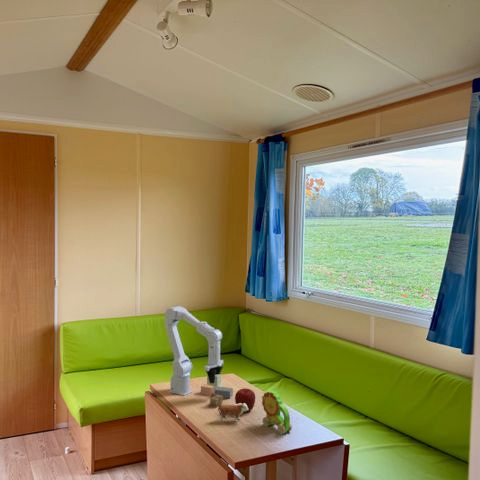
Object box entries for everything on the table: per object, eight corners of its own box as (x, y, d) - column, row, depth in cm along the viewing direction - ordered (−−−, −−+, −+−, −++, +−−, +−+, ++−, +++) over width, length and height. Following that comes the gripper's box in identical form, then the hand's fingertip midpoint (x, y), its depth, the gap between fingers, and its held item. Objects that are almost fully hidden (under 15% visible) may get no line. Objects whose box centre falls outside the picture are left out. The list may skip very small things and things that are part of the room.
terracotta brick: (200, 393, 253) (200, 386, 252) (204, 391, 256) (204, 384, 255) (210, 396, 250) (210, 388, 250) (214, 394, 253) (214, 386, 253)
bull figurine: (248, 423, 217) (248, 404, 216) (217, 422, 217) (218, 404, 217) (248, 419, 221) (248, 401, 221) (218, 418, 221) (218, 400, 221)
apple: (235, 414, 226) (236, 393, 225) (234, 406, 235) (234, 386, 235) (256, 414, 227) (256, 392, 226) (253, 406, 236) (254, 385, 236)
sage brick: (207, 384, 245) (207, 374, 245) (210, 382, 248) (210, 372, 248) (217, 386, 242) (217, 376, 242) (220, 384, 245) (221, 374, 245)
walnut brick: (216, 408, 234) (216, 399, 234) (210, 406, 235) (210, 398, 235) (222, 404, 239) (222, 395, 239) (216, 402, 241) (216, 394, 241)
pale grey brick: (208, 390, 257) (208, 383, 257) (212, 388, 260) (212, 381, 260) (218, 392, 254) (218, 385, 254) (221, 390, 257) (222, 383, 257)
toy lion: (292, 432, 208) (293, 396, 207) (282, 435, 205) (283, 399, 204) (267, 420, 221) (268, 386, 220) (258, 422, 217) (259, 388, 217)
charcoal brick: (214, 397, 248) (214, 389, 248) (217, 394, 253) (217, 386, 252) (229, 399, 246) (230, 391, 246) (232, 395, 251) (232, 388, 250)
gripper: (213, 359, 237) (213, 387, 237) (228, 352, 249) (228, 379, 250) (201, 357, 240) (200, 384, 241) (216, 350, 253) (216, 376, 253)
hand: (213, 381), depth 245 cm, fingers closed on sage brick, 3 cm apart
